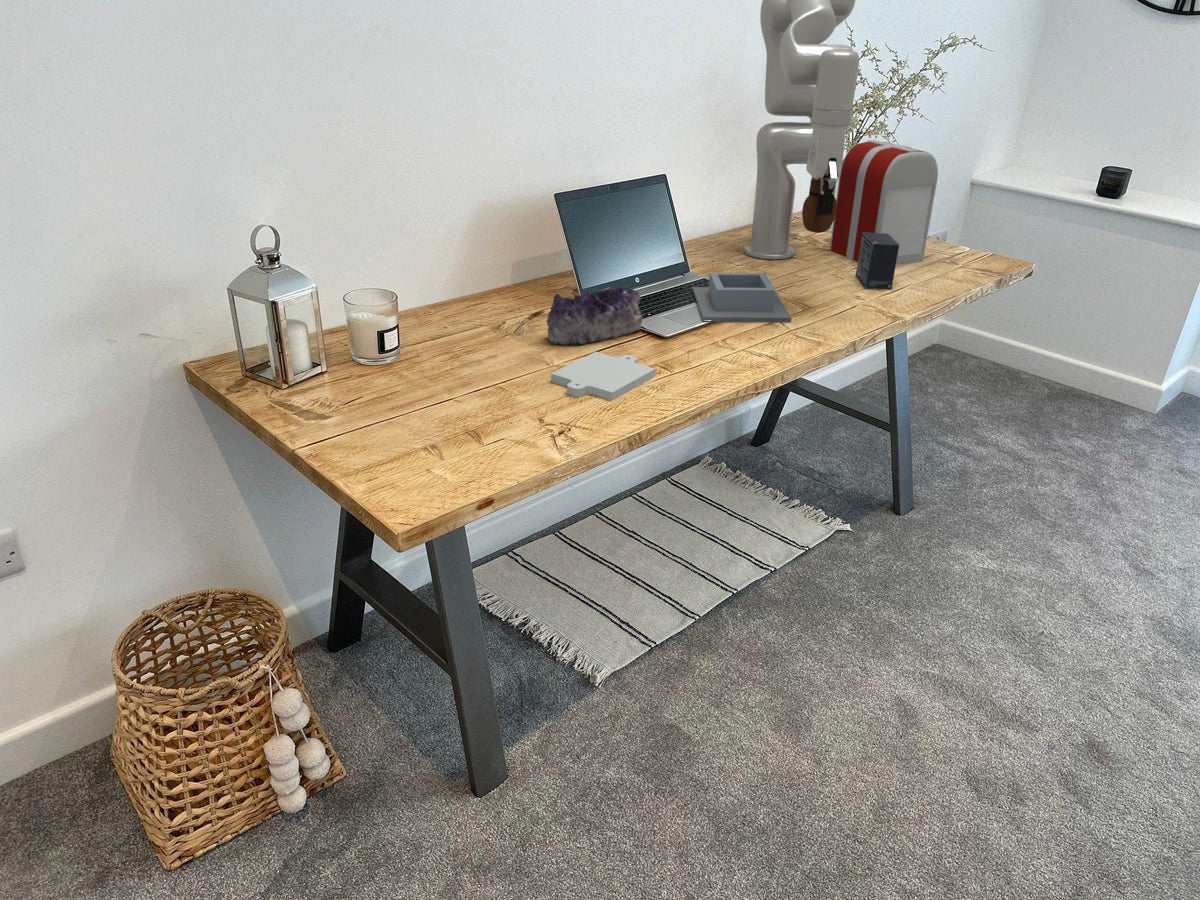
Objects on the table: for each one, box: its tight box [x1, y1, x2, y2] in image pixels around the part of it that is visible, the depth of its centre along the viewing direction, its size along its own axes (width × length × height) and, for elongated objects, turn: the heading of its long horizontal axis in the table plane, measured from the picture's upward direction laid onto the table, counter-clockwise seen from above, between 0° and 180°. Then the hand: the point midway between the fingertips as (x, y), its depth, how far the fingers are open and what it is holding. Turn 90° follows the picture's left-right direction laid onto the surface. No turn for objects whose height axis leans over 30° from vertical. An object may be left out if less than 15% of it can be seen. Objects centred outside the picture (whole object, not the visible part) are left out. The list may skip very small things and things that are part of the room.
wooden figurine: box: [801, 176, 837, 234], centre depth 188 cm, size 7×6×15 cm
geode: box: [545, 286, 643, 347], centre depth 179 cm, size 20×12×10 cm, turn 129°
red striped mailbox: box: [829, 139, 939, 266], centre depth 229 cm, size 16×18×27 cm
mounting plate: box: [550, 351, 656, 401], centre depth 161 cm, size 18×13×2 cm
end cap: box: [692, 272, 792, 323], centre depth 196 cm, size 20×18×6 cm
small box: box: [855, 232, 899, 290], centre depth 212 cm, size 11×6×10 cm, turn 179°
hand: (819, 208), depth 190 cm, fingers closed on wooden figurine, 6 cm apart
